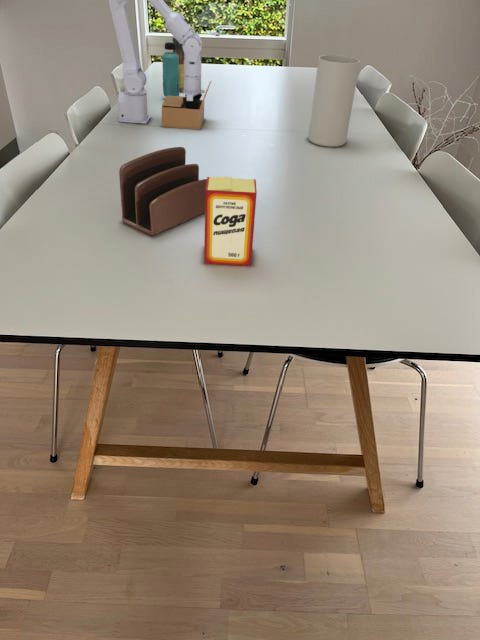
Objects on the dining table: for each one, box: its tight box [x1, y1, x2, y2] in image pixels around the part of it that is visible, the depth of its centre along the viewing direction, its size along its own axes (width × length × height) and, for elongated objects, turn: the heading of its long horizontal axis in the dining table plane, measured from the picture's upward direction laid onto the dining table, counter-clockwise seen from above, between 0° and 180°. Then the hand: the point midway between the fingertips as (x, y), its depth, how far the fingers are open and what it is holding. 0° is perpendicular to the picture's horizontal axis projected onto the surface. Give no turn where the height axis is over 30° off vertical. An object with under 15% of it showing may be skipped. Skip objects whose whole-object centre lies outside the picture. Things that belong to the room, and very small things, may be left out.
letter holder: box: [118, 146, 207, 237], centre depth 121 cm, size 10×20×14 cm, turn 141°
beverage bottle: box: [161, 41, 181, 98], centre depth 205 cm, size 6×7×20 cm
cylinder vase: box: [308, 54, 361, 148], centre depth 171 cm, size 12×12×25 cm
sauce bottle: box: [172, 36, 184, 93], centre depth 217 cm, size 6×6×20 cm
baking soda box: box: [203, 176, 258, 267], centre depth 106 cm, size 10×6×16 cm
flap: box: [200, 80, 212, 108], centre depth 180 cm, size 6×13×1 cm
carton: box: [161, 95, 205, 130], centre depth 184 cm, size 13×13×7 cm
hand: (192, 117), depth 185 cm, fingers closed on spice jar, 4 cm apart
